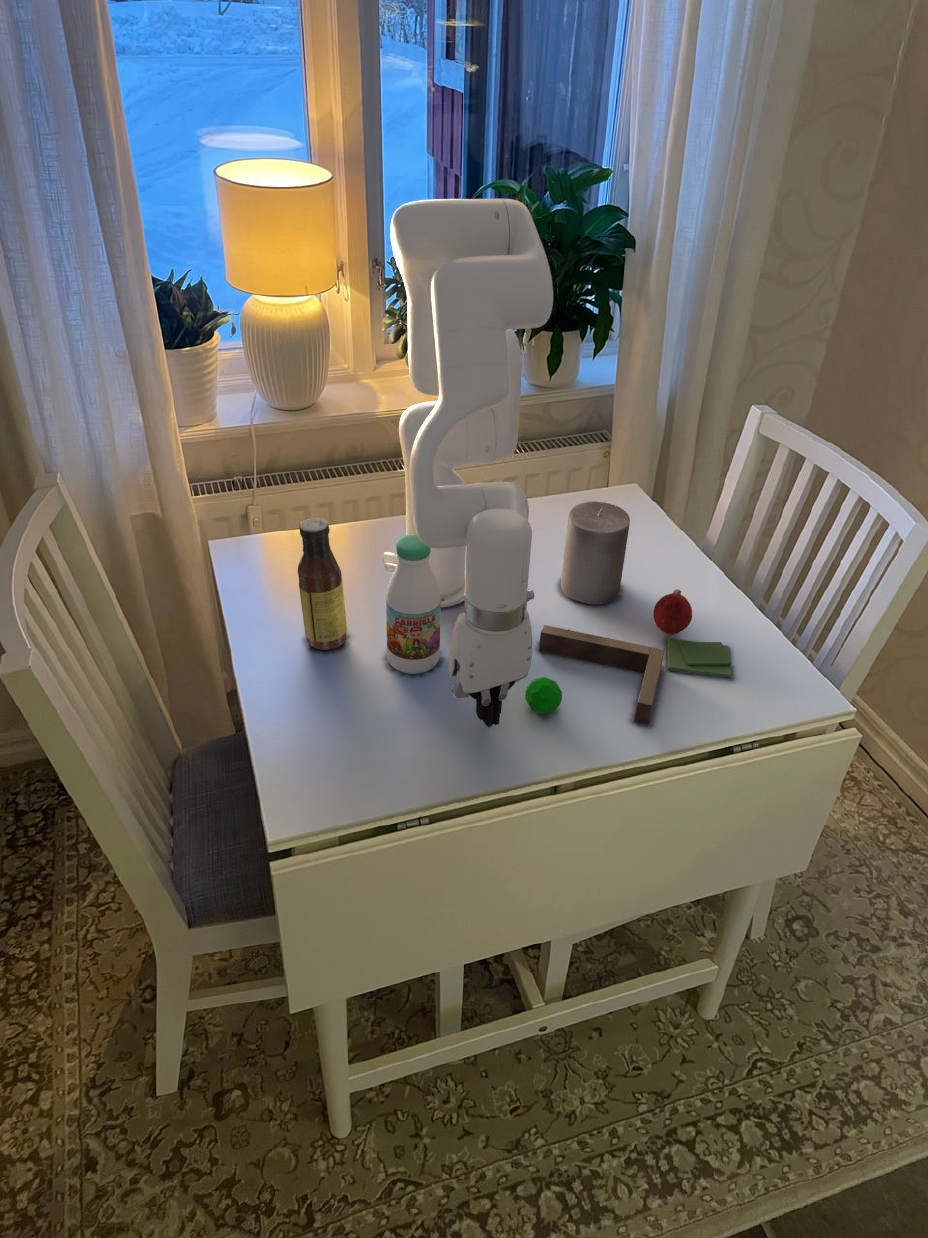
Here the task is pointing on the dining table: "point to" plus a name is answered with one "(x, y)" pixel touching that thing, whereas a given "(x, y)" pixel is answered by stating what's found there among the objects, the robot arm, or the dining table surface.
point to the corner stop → (610, 659)
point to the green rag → (699, 658)
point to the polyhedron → (543, 695)
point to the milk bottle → (413, 609)
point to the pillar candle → (594, 552)
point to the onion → (672, 613)
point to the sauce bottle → (321, 588)
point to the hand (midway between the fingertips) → (488, 719)
